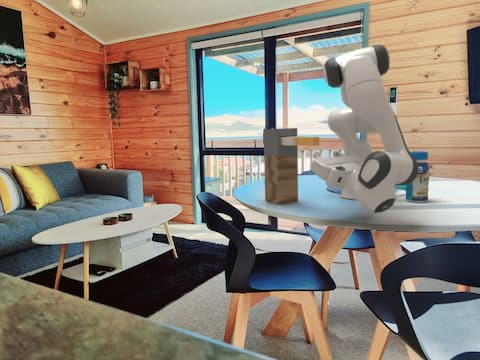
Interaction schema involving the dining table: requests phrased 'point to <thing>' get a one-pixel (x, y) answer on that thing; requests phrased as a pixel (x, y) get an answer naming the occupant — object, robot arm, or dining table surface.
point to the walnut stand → (281, 179)
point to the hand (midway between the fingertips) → (324, 153)
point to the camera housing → (279, 142)
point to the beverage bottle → (419, 180)
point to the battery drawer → (300, 141)
